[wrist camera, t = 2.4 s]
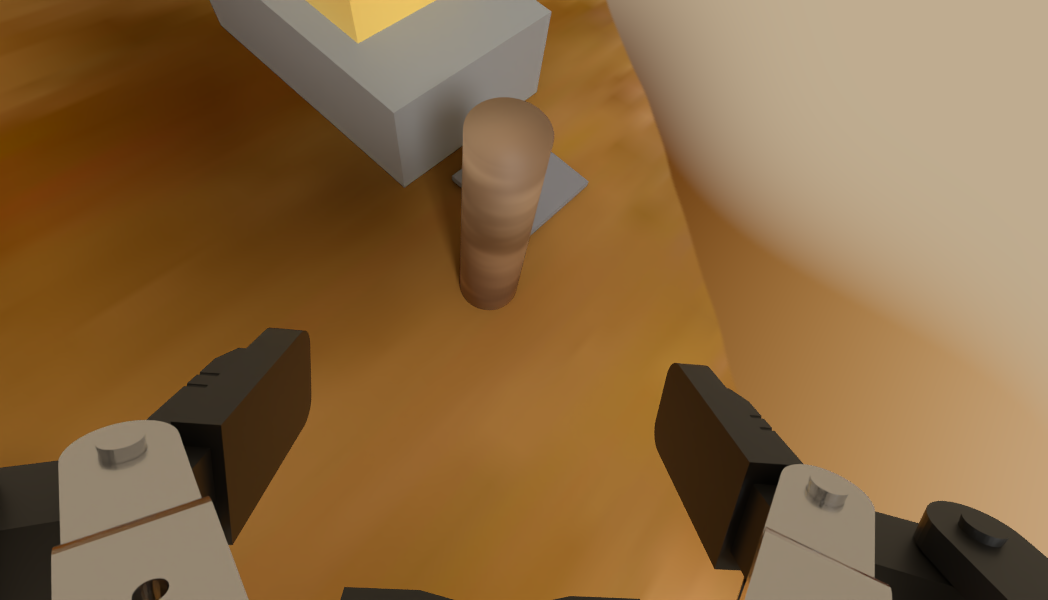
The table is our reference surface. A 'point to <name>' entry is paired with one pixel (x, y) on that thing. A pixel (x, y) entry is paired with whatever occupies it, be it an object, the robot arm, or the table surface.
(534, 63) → the grey base plinth
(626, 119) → the table surface
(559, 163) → the rest pad
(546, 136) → the brown wooden cylinder
